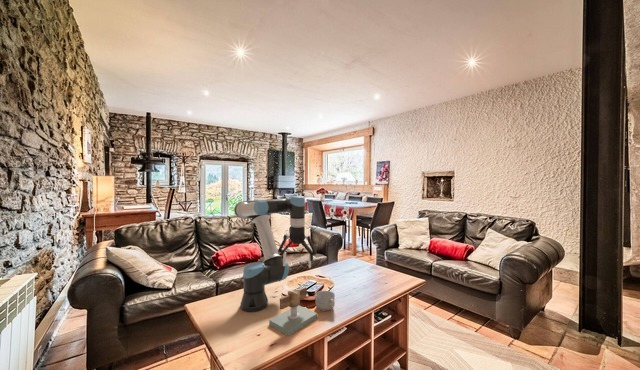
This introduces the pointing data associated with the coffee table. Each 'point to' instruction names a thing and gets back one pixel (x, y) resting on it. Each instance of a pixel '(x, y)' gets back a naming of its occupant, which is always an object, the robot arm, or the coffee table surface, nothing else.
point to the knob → (293, 298)
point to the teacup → (324, 300)
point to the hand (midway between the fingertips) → (297, 266)
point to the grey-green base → (293, 319)
